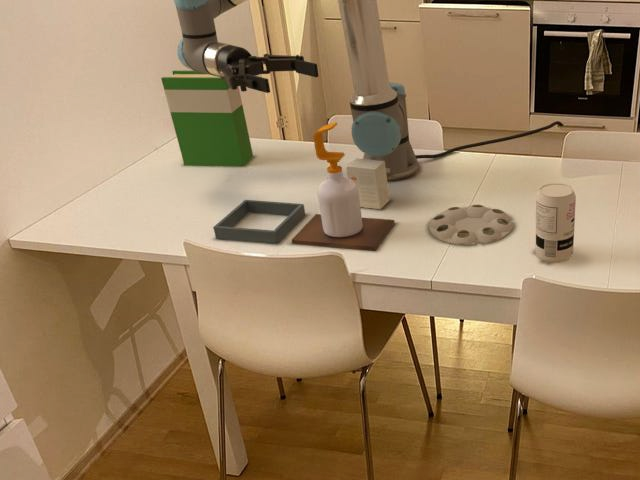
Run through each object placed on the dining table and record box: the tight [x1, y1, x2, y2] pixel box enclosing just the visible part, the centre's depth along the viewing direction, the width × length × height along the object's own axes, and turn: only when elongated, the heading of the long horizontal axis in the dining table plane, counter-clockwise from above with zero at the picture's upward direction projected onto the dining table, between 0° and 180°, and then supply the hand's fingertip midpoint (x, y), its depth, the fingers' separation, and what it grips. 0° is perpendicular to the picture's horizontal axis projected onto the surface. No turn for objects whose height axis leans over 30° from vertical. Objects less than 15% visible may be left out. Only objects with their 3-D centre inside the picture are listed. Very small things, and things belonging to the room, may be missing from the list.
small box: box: [345, 158, 391, 210], centre depth 186 cm, size 8×6×10 cm
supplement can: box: [534, 182, 577, 263], centre depth 159 cm, size 8×8×15 cm
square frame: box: [212, 199, 306, 245], centre depth 179 cm, size 16×16×3 cm
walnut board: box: [291, 213, 396, 252], centre depth 175 cm, size 20×14×1 cm
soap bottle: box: [313, 121, 363, 237], centre depth 168 cm, size 9×9×25 cm
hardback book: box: [160, 70, 254, 167], centre depth 209 cm, size 18×7×24 cm, turn 83°
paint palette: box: [429, 204, 514, 246], centre depth 176 cm, size 20×20×2 cm
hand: (292, 78), depth 161 cm, fingers open, 13 cm apart
